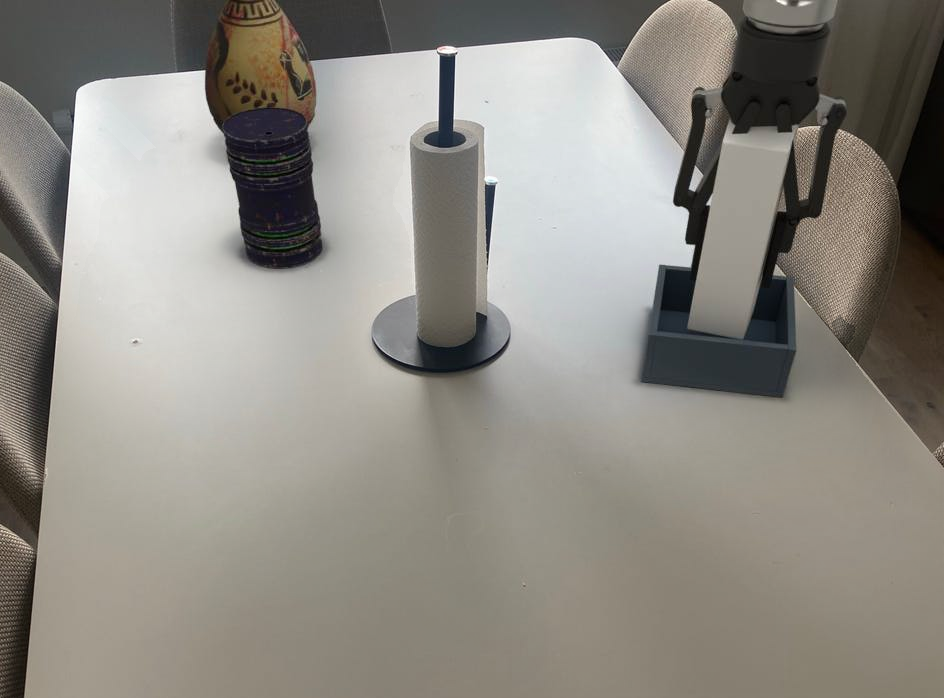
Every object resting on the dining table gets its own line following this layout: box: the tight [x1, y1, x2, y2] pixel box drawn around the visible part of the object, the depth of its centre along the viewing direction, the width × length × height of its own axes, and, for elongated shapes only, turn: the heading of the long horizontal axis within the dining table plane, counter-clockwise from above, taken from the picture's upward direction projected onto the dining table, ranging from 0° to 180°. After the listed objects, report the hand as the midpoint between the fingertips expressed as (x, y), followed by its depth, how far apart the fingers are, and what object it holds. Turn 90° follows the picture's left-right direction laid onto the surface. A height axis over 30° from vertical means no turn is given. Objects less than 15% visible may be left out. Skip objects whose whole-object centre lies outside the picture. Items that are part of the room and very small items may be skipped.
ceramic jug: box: [204, 0, 317, 135], centre depth 128 cm, size 17×15×30 cm
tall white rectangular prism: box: [687, 118, 800, 340], centre depth 92 cm, size 6×6×22 cm
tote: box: [641, 264, 797, 398], centre depth 101 cm, size 15×15×6 cm
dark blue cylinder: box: [222, 107, 324, 270], centre depth 114 cm, size 10×10×15 cm
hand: (729, 276), depth 97 cm, fingers closed on tall white rectangular prism, 7 cm apart
